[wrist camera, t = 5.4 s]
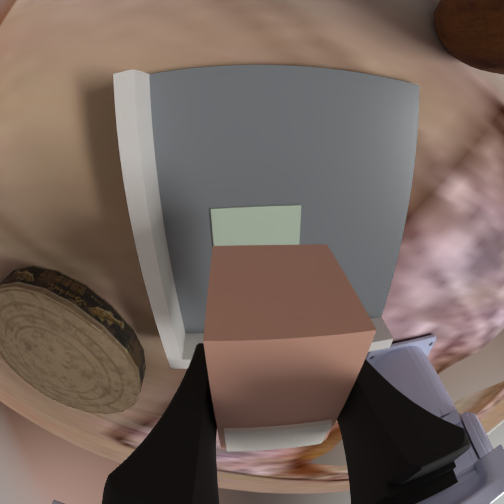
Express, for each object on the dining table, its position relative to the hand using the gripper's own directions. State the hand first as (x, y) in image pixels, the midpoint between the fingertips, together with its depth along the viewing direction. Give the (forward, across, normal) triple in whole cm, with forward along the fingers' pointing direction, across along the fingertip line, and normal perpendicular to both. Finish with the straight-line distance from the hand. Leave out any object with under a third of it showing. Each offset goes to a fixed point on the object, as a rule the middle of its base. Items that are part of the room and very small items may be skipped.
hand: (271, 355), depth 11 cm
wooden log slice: (+8, +17, +8) cm, 20 cm away
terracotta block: (+2, 0, -1) cm, 2 cm away
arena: (+8, -2, -2) cm, 8 cm away
